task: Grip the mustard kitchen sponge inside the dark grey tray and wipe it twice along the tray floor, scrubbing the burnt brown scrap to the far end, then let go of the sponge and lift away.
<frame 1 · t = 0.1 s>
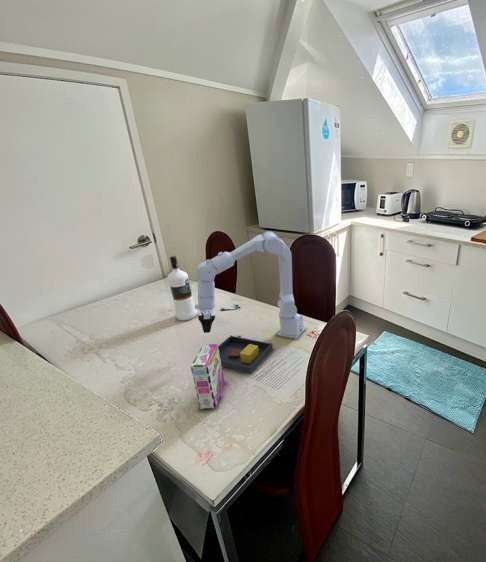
hand: (206, 327, 119), 10 cm above the table, tool pointing down, fingers open, 7 cm apart
sponge: (250, 358, 117), resting on dark grey tray
candy bar box: (214, 396, 100), on the table
vodka: (187, 316, 148), on the table
dark grey tray: (240, 356, 119), on the table
scrap: (235, 354, 119), resting on dark grey tray
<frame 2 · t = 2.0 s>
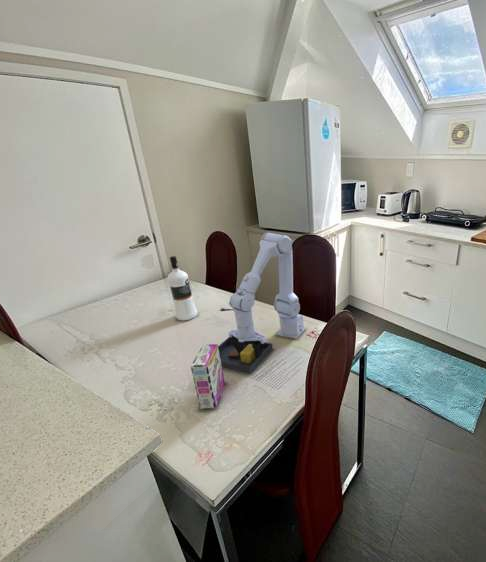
hand: (250, 355, 117), 2 cm above the table, tool pointing down, fingers open, 7 cm apart
nothing on the table moved.
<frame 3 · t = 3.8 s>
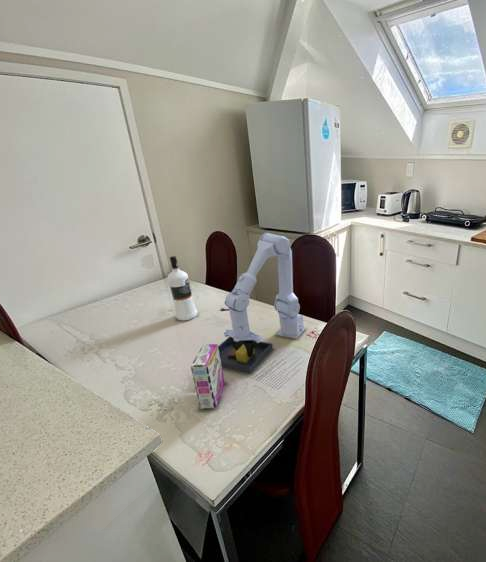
hand: (245, 354, 117), 2 cm above the table, tool pointing down, fingers closed on sponge, 4 cm apart
sponge: (246, 357, 118), point 1 cm above the table, touching gripper
scrap: (234, 354, 119), resting on dark grey tray, touching gripper
everything else where it was.
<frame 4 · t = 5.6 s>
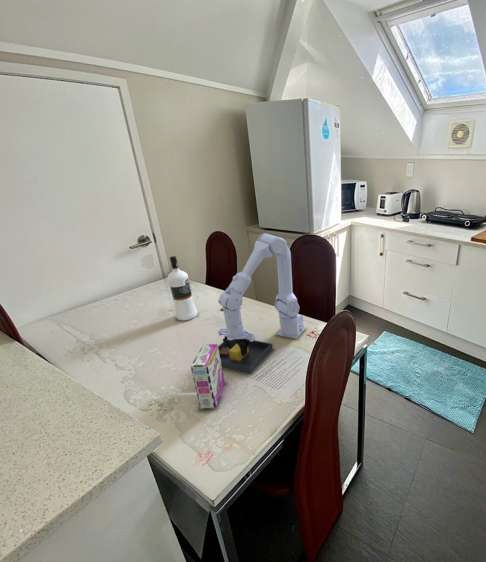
hand: (239, 353, 118), 2 cm above the table, tool pointing down, fingers closed on sponge, 4 cm apart
sponge: (239, 355, 119), point 1 cm above the table, touching gripper
scrap: (225, 353, 120), resting on dark grey tray
everything else where it was.
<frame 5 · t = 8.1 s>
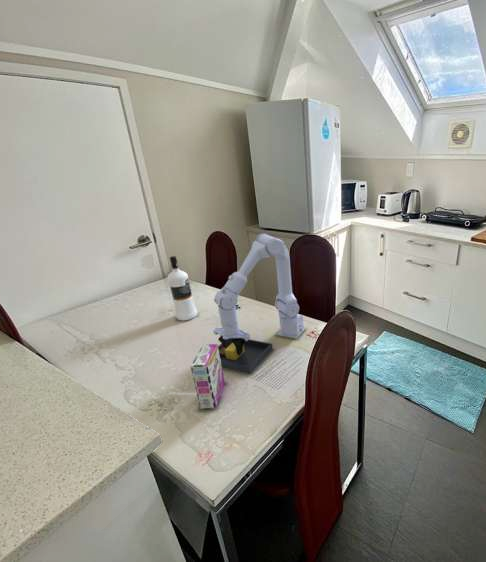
hand: (235, 352, 119), 2 cm above the table, tool pointing down, fingers closed on sponge, 4 cm apart
sponge: (235, 354, 119), point 1 cm above the table, touching gripper
scrap: (225, 353, 120), resting on dark grey tray, touching gripper
everything else where it was.
when the fingers open (2 cm above the table, at t = 9.4 s): sponge stays where it is, resting on dark grey tray.
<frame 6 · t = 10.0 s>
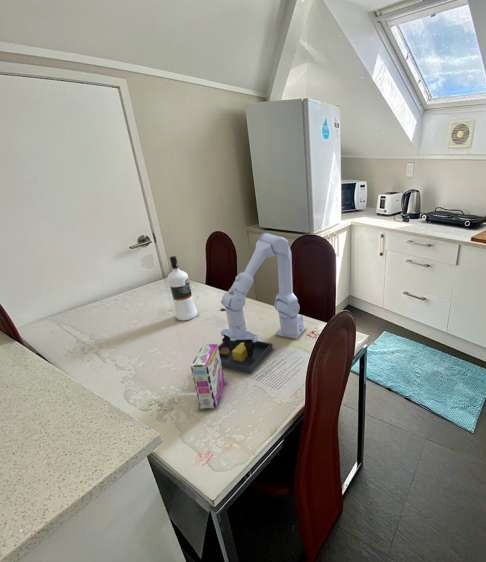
hand: (242, 353, 118), 2 cm above the table, tool pointing down, fingers open, 7 cm apart
sponge: (242, 356, 118), resting on dark grey tray
scrap: (225, 353, 120), resting on dark grey tray
everything else where it was.
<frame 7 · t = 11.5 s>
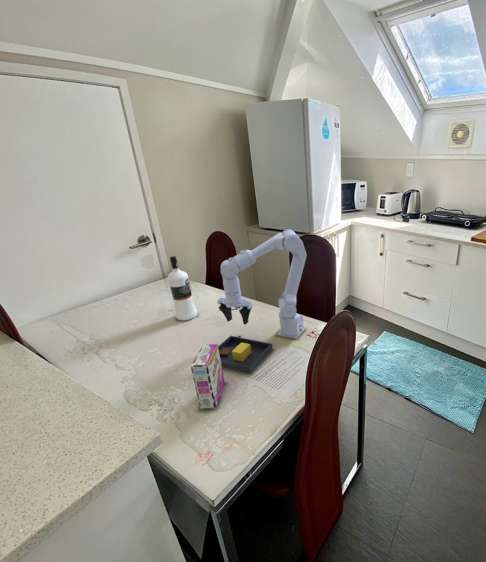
hand: (237, 321, 125), 9 cm above the table, tool pointing down, fingers open, 7 cm apart
nothing on the table moved.
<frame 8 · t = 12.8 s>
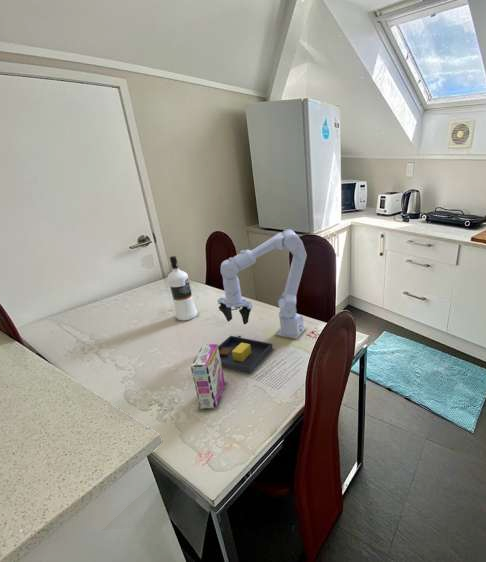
hand: (237, 321, 125), 9 cm above the table, tool pointing down, fingers open, 7 cm apart
nothing on the table moved.
at the end: scrap inside the target area in the dark grey tray (0.6 cm from its centre), point 0.5 cm above the dark grey tray's base; sponge inside the target area in the dark grey tray (1.0 cm from its centre), point 0.5 cm above the dark grey tray's base; the gripper is holding nothing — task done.
